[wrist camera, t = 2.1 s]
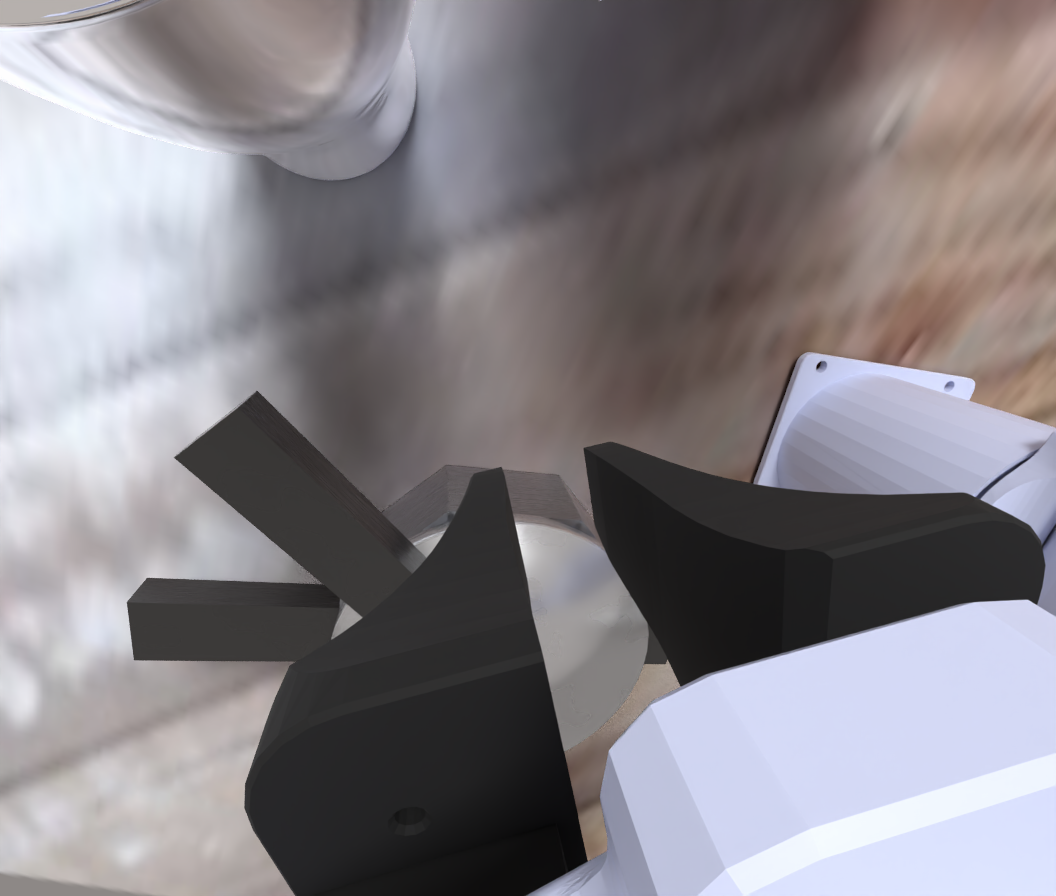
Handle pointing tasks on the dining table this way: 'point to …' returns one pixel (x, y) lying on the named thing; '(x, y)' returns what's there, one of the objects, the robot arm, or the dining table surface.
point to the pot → (315, 585)
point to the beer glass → (226, 73)
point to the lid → (390, 558)
